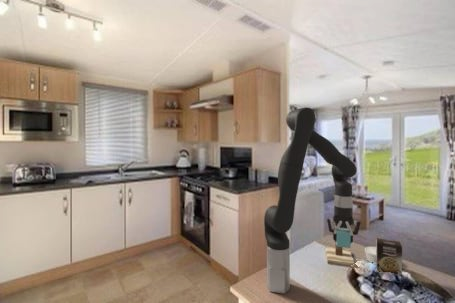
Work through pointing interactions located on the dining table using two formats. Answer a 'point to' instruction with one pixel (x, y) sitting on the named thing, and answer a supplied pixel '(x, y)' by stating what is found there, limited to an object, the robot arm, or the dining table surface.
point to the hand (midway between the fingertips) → (342, 242)
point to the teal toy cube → (343, 238)
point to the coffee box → (388, 256)
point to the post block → (339, 256)
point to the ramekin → (371, 254)
